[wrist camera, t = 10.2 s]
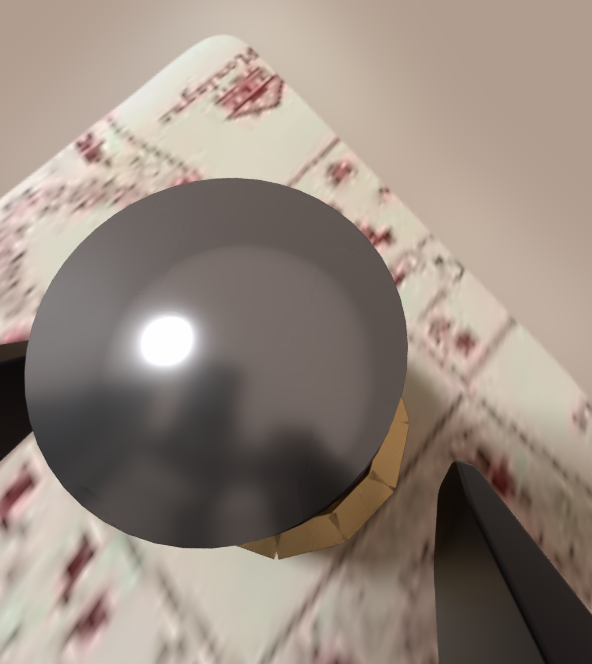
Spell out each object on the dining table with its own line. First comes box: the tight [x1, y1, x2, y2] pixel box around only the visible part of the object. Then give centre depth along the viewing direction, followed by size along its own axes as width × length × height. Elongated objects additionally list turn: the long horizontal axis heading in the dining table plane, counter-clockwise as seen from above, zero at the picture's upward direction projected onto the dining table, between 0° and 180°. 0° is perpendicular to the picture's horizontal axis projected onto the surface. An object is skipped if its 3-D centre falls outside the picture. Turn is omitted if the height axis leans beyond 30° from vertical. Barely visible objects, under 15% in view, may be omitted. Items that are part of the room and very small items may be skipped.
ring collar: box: [236, 397, 409, 559], centre depth 17 cm, size 9×9×3 cm
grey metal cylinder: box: [25, 178, 408, 548], centre depth 11 cm, size 5×5×13 cm
